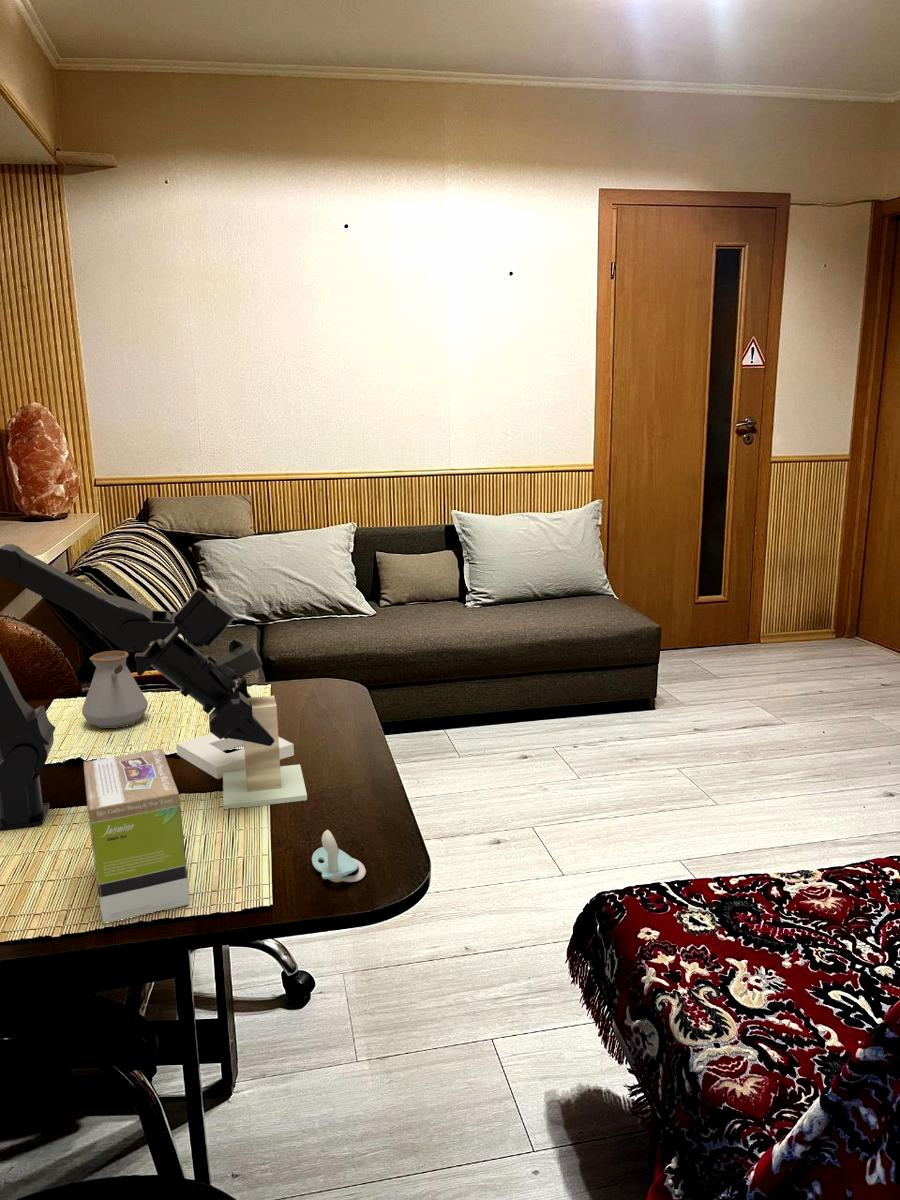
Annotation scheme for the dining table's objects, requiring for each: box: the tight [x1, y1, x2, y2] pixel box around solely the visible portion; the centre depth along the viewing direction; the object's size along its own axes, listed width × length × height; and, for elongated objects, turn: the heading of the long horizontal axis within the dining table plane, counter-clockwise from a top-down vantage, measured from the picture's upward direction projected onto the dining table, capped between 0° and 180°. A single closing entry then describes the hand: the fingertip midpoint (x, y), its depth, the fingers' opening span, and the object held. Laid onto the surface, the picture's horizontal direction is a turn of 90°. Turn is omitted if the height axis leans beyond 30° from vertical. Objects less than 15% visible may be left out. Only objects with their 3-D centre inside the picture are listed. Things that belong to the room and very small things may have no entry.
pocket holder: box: [175, 733, 295, 780], centre depth 153 cm, size 14×14×2 cm
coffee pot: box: [81, 650, 149, 729], centre depth 164 cm, size 21×12×15 cm, turn 27°
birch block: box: [243, 695, 281, 792], centre depth 138 cm, size 5×5×13 cm
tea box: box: [83, 748, 191, 924], centre depth 110 cm, size 15×10×15 cm, turn 24°
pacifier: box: [311, 829, 367, 883], centre depth 114 cm, size 7×6×6 cm
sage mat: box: [222, 763, 308, 810], centre depth 139 cm, size 12×12×1 cm
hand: (269, 732), depth 138 cm, fingers open, 9 cm apart
